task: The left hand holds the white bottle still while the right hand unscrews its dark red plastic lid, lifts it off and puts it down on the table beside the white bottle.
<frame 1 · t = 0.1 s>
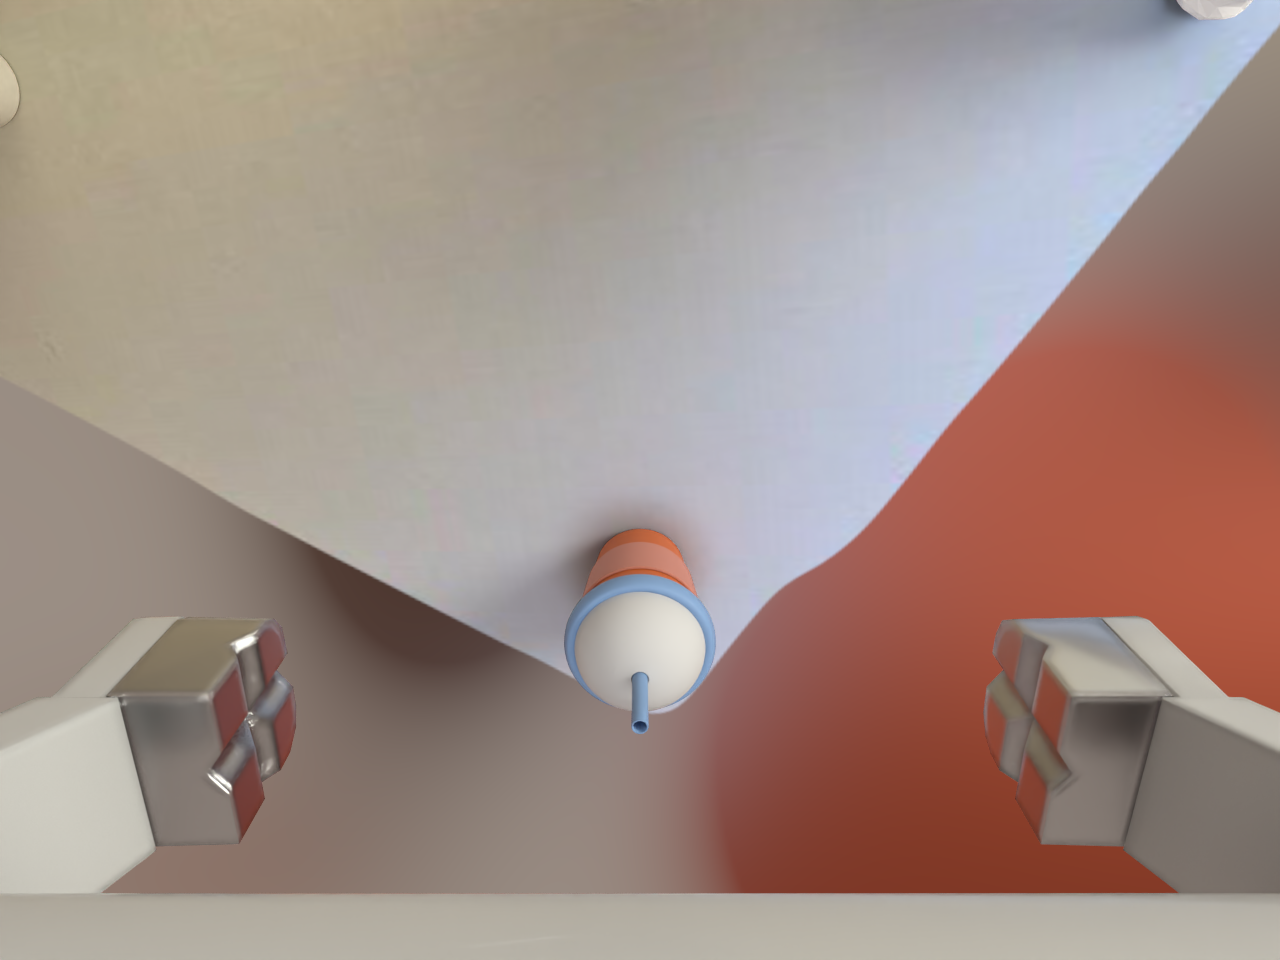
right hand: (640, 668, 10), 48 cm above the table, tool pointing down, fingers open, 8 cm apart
cup with straw: (639, 565, 64), on the table
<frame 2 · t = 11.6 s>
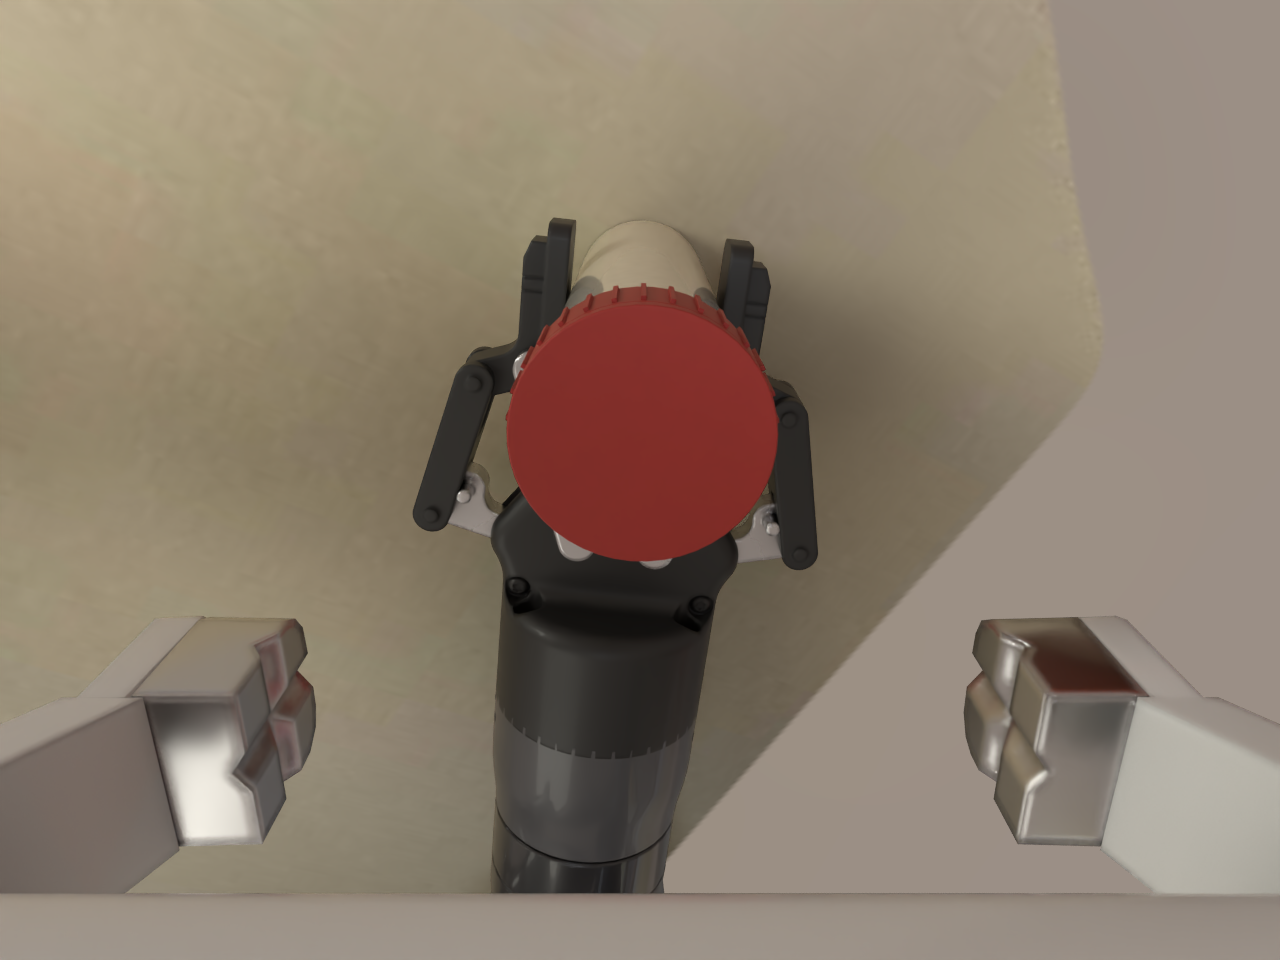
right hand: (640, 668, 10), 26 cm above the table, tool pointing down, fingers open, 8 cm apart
lid: (642, 434, 18), point 18 cm above the table, screwed on, not yet turned
white bottle: (641, 284, 35), on the table, touching left hand
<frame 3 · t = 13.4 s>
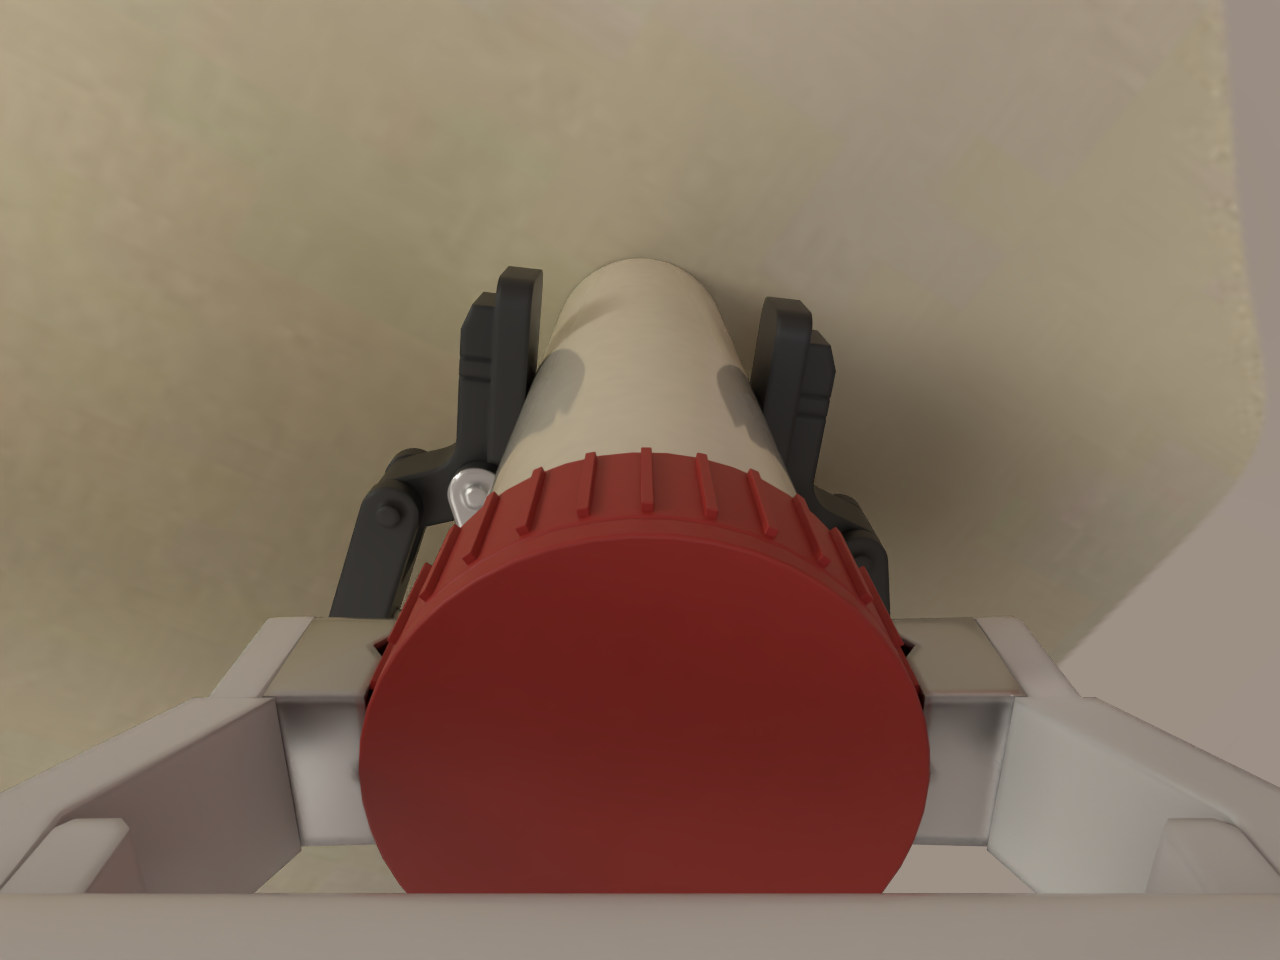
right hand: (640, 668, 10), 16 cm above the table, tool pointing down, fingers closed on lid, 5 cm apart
lid: (644, 768, 9), point 18 cm above the table, screwed on, not yet turned, touching right hand
white bottle: (640, 344, 25), on the table, touching left hand
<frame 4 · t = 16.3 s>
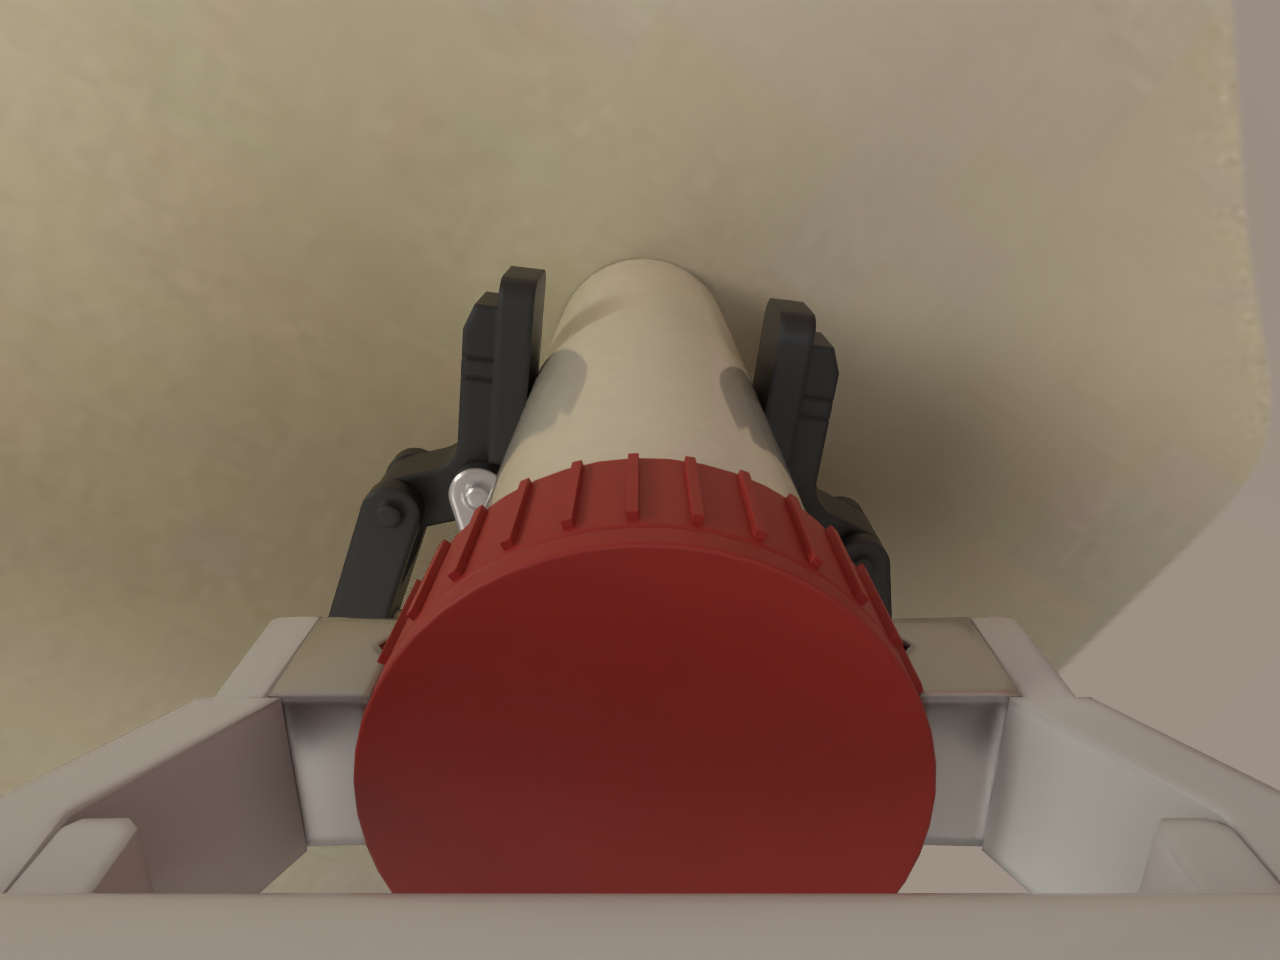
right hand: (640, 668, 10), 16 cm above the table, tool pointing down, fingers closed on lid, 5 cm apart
lid: (644, 780, 9), point 18 cm above the table, turned 75° so far, risen 0.1 cm, still on its thread, touching right hand
white bottle: (642, 344, 25), on the table, touching left hand
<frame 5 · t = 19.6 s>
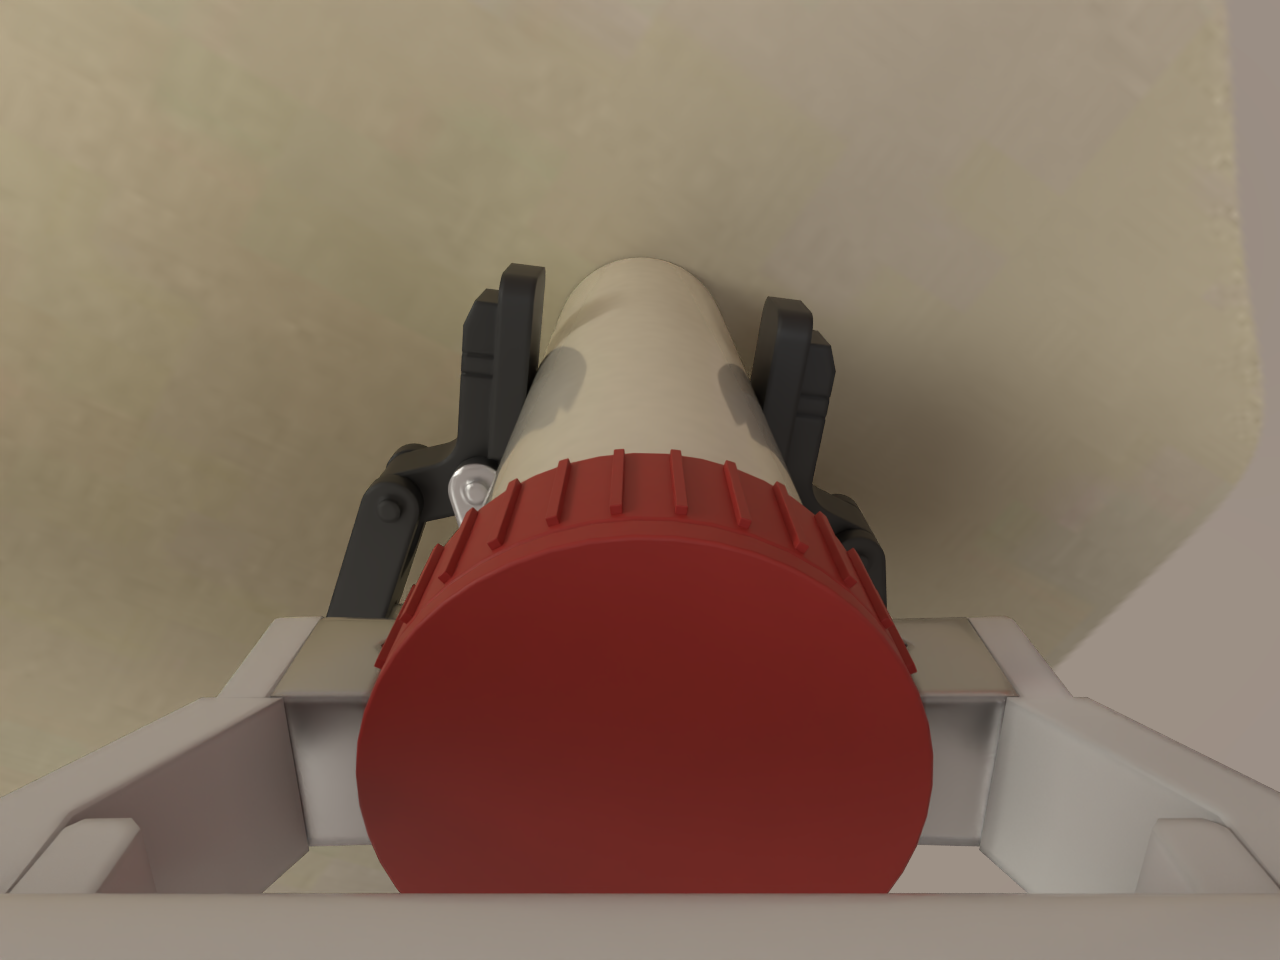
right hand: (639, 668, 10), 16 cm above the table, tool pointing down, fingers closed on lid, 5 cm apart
lid: (644, 771, 9), point 18 cm above the table, turned 150° so far, risen 0.2 cm, still on its thread, touching right hand
white bottle: (640, 343, 25), on the table, touching left hand
when the right hand's fingers open (2 cm above the table, at t = 32.3 s): lid drops 2 cm, point 2 cm above the table.
when the left hand's fingers open (7 cm above the table, at t = 33.3 s): white bottle stays where it is, on the table.
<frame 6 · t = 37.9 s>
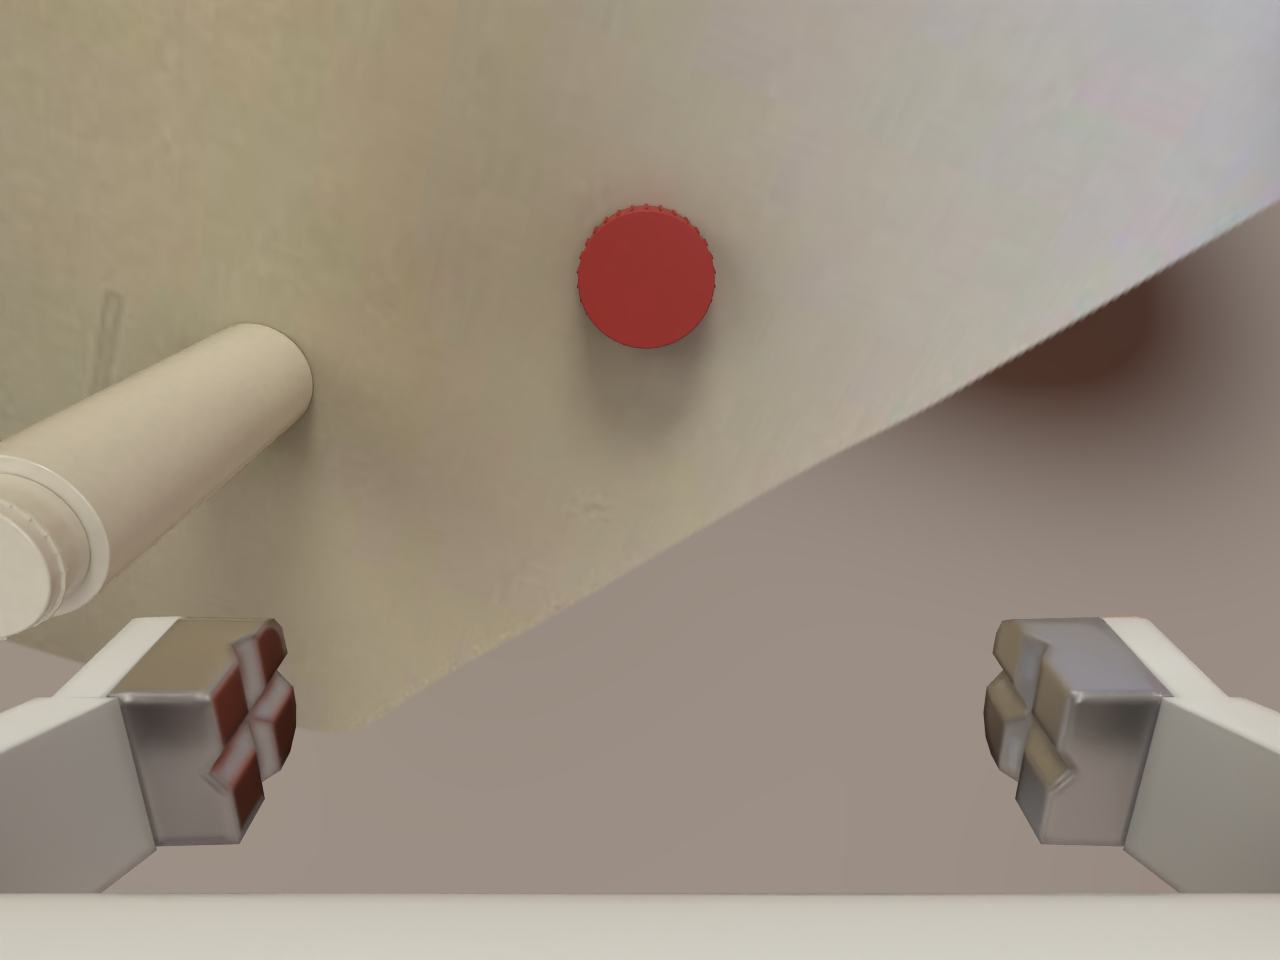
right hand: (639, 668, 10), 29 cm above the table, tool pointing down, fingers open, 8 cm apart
lid: (646, 280, 35), point 2 cm above the table, off its thread
white bottle: (257, 378, 39), on the table
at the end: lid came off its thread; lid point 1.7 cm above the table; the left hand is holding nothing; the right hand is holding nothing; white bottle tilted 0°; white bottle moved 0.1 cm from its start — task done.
